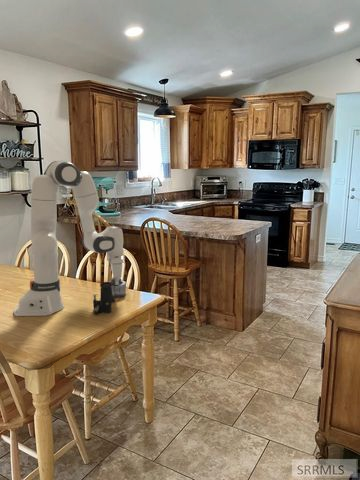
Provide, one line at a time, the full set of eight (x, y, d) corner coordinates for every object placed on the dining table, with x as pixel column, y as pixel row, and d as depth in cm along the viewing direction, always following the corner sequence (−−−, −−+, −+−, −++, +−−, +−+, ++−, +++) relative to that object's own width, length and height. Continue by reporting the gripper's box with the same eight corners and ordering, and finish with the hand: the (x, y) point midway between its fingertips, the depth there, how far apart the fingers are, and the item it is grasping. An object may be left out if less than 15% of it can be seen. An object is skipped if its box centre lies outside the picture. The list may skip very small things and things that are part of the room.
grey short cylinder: (107, 298, 201) (107, 286, 200) (106, 292, 210) (105, 280, 209) (127, 296, 203) (126, 285, 202) (124, 290, 213) (124, 279, 212)
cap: (111, 290, 203) (111, 280, 202) (110, 287, 208) (110, 277, 207) (122, 289, 204) (121, 279, 203) (120, 286, 209) (120, 276, 208)
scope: (92, 282, 183) (113, 280, 186) (93, 309, 185) (114, 307, 188) (93, 287, 175) (115, 285, 178) (94, 316, 178) (116, 313, 181)
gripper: (107, 252, 212) (108, 276, 214) (111, 261, 192) (111, 288, 195) (119, 251, 213) (119, 275, 216) (123, 260, 194) (124, 287, 197)
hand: (116, 281), depth 205 cm, fingers open, 8 cm apart
